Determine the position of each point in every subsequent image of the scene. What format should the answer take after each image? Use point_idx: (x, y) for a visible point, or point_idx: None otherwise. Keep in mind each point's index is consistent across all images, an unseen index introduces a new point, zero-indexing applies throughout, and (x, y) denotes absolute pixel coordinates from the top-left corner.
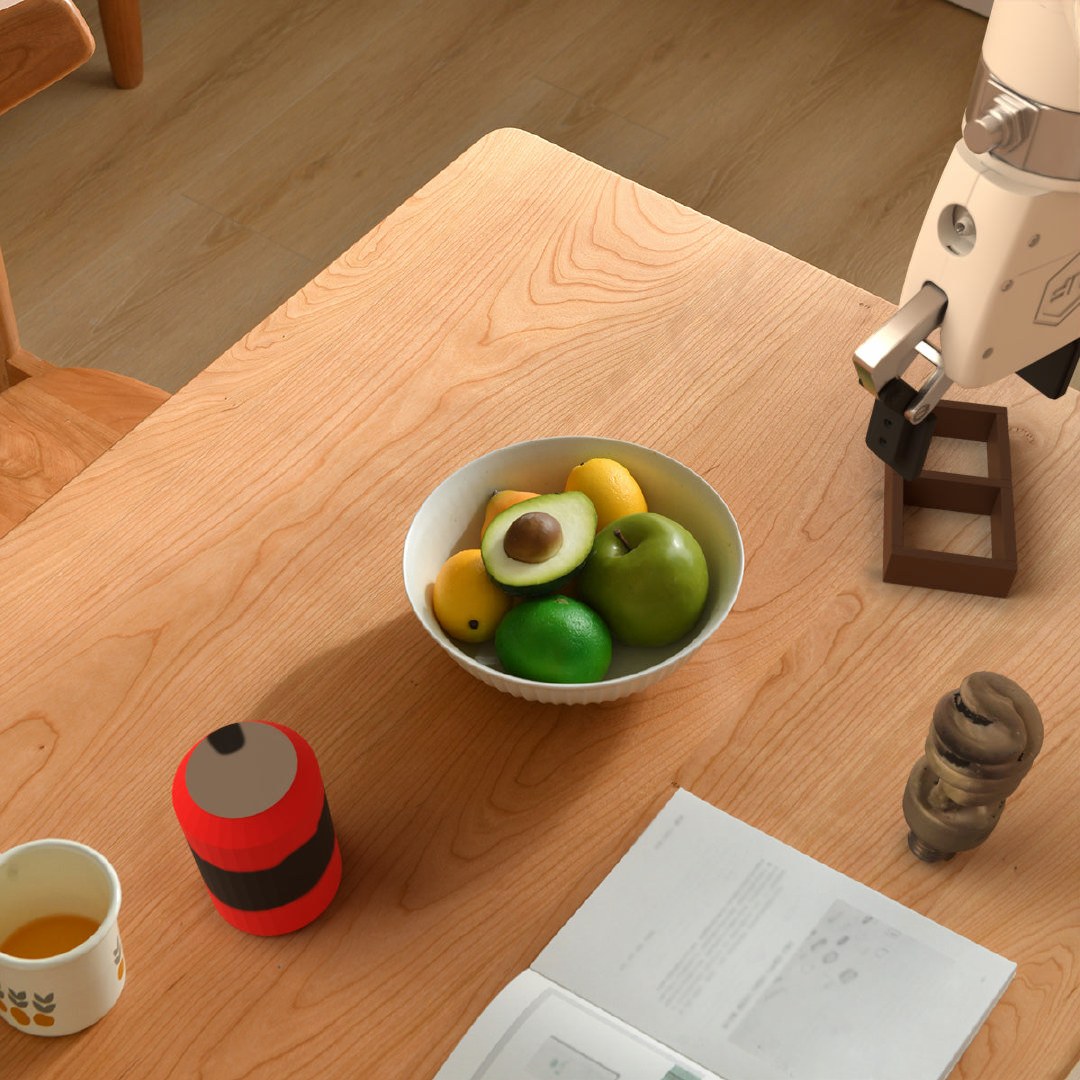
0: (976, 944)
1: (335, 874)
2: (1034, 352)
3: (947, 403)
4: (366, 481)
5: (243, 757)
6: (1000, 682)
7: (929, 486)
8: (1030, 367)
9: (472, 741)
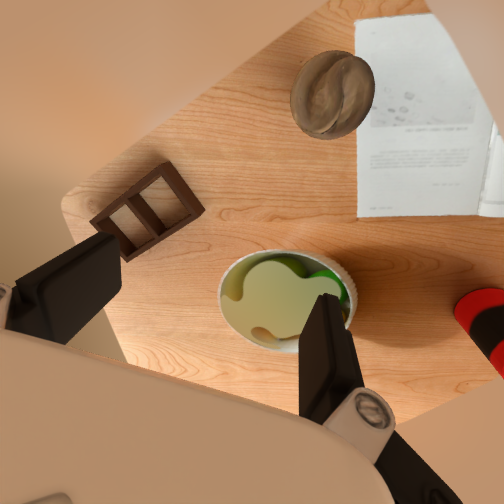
0: (355, 49)
1: (485, 296)
2: (171, 428)
3: None
4: None
5: None
6: (302, 110)
7: (152, 223)
8: (108, 280)
9: (385, 289)
